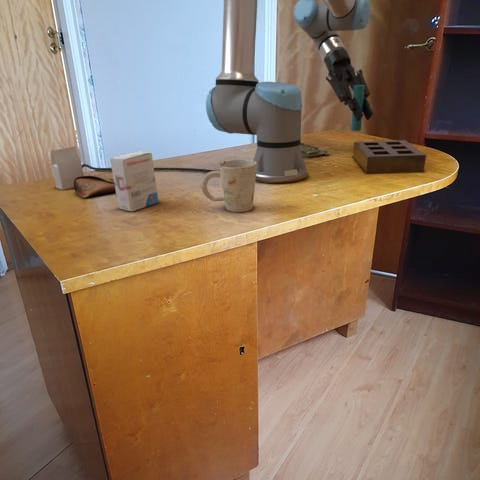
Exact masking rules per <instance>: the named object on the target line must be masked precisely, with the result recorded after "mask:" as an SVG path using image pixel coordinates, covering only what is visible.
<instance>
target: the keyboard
mask: <svg viewBox="0 0 480 480" xmlns="http://www.w3.org/2000/svg"><path fill="white" fill-rule="evenodd" d="M300 147H301V151H302V155H303V158H305V159H310V158H316V157H321V156H327V155H328V150H324V151H321V149H319V147H318V146H314V145H310V144H305V143H303V142H300Z"/></svg>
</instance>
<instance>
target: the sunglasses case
mask: <svg viewBox="0 0 480 480" xmlns="http://www.w3.org/2000/svg"><path fill="white" fill-rule="evenodd" d="M73 188H74V192H75V194H77V196H79V197H81V198H83V199H84V198H85V199H86V198H91V197H94V196H100V195H101V196H102V195H109V194H113V193H114V194H116V189H115V184H114V178H113V173H112V171H110V172H105V173H99V174H93V175H92V174H91V175H84V176H81V177H77V178H76V179H75V180H74V187H73Z"/></svg>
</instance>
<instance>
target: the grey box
mask: <svg viewBox="0 0 480 480" xmlns="http://www.w3.org/2000/svg"><path fill="white" fill-rule="evenodd" d="M50 157H51V169H52V174H53V178H54V179H53V180H54V184H55V187H56V189H58V190H62V191H65V190H70V189H73V188H74V180H75V179H76V178H77V177H81V176H85V175H84V169H83V168H82V165H83V164H82V160H81V159H80V156H79V153H78V151H77V149H76V146H75V145H73V146H68V147H62V148H57V149H51V150H50Z"/></svg>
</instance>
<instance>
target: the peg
mask: <svg viewBox="0 0 480 480" xmlns="http://www.w3.org/2000/svg"><path fill="white" fill-rule="evenodd" d="M364 88H365V85H354V92H353V93H352V94H353V95H352V99H353V98H355V99H356V101H357V103H358V105H359V107H360V109H361V111H362V113H363V100H364ZM362 122H363V117H362V118H361V119H360V120H359V121H357V120H356V118H355V116H354V114H353V112H352V111H351V122H350V131H353V132H360V131H361V130H362Z"/></svg>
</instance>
